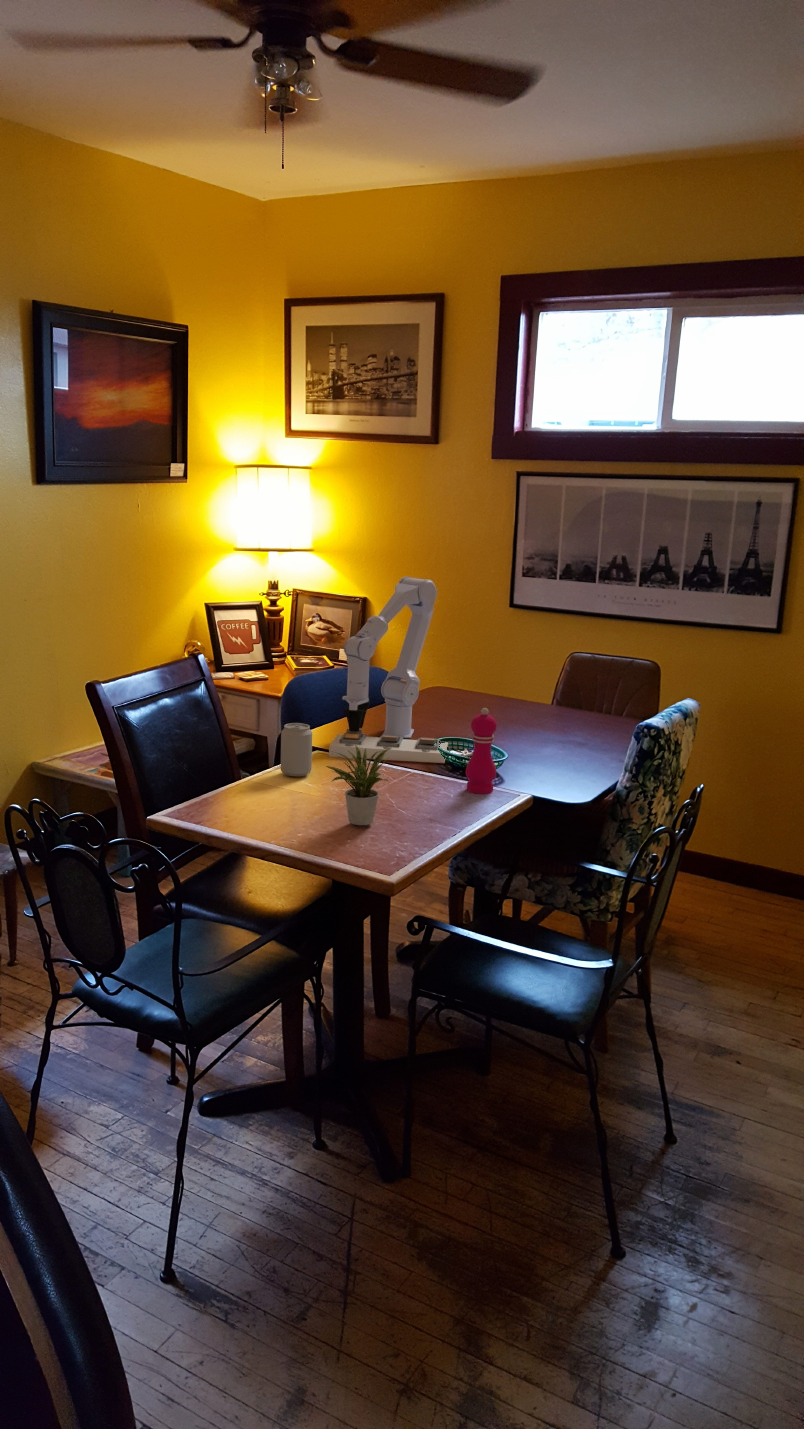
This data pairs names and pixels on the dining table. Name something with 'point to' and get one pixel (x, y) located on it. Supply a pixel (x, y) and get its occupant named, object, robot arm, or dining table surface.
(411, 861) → the dining table surface
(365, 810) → the house plant
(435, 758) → the power strip
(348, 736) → the rocker
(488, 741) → the pepper mill
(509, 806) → the dining table surface
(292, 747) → the can
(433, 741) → the rocker
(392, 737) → the rocker
